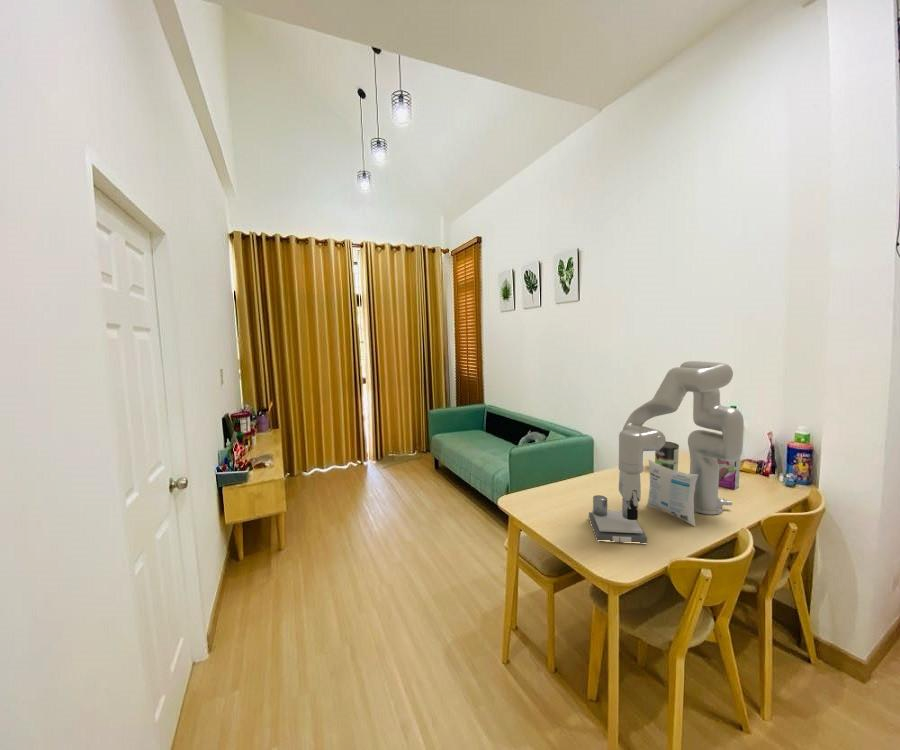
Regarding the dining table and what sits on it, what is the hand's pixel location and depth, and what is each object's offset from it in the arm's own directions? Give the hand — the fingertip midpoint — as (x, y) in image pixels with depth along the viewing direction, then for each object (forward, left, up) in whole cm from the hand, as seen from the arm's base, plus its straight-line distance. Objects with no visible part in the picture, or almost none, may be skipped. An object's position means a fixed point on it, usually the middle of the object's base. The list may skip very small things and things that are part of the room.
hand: (629, 514), depth 130 cm
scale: (+4, -3, -8) cm, 9 cm away
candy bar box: (-52, -47, -8) cm, 71 cm away
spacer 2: (0, 0, -1) cm, 1 cm away
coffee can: (-34, -62, -8) cm, 71 cm away
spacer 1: (+8, -8, -4) cm, 12 cm away
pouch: (-19, -16, -8) cm, 26 cm away
